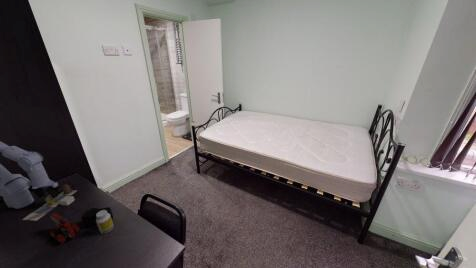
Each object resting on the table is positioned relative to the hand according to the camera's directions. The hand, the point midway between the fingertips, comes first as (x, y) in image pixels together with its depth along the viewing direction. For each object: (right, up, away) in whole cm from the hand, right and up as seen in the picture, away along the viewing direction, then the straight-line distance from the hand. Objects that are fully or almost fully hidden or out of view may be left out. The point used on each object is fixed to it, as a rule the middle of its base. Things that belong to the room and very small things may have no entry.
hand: (49, 196), depth 94 cm
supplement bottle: (+40, -11, -11) cm, 43 cm away
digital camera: (+34, -10, -7) cm, 36 cm away
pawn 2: (+1, -1, +10) cm, 10 cm away
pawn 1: (0, -4, +2) cm, 5 cm away
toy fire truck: (+24, -13, -14) cm, 30 cm away
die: (+8, -5, +3) cm, 10 cm away
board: (0, -5, +2) cm, 6 cm away
